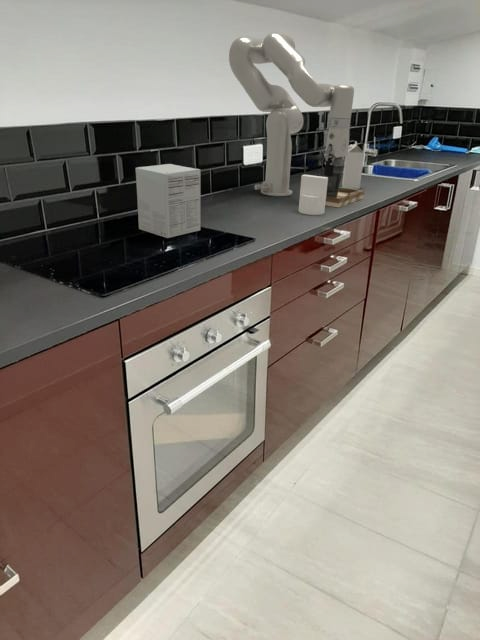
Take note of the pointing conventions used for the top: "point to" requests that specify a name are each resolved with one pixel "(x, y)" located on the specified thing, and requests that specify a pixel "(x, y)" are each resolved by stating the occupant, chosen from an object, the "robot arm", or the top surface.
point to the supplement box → (168, 199)
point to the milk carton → (353, 167)
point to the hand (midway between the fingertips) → (333, 174)
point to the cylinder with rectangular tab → (313, 194)
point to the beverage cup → (335, 178)
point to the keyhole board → (344, 197)
